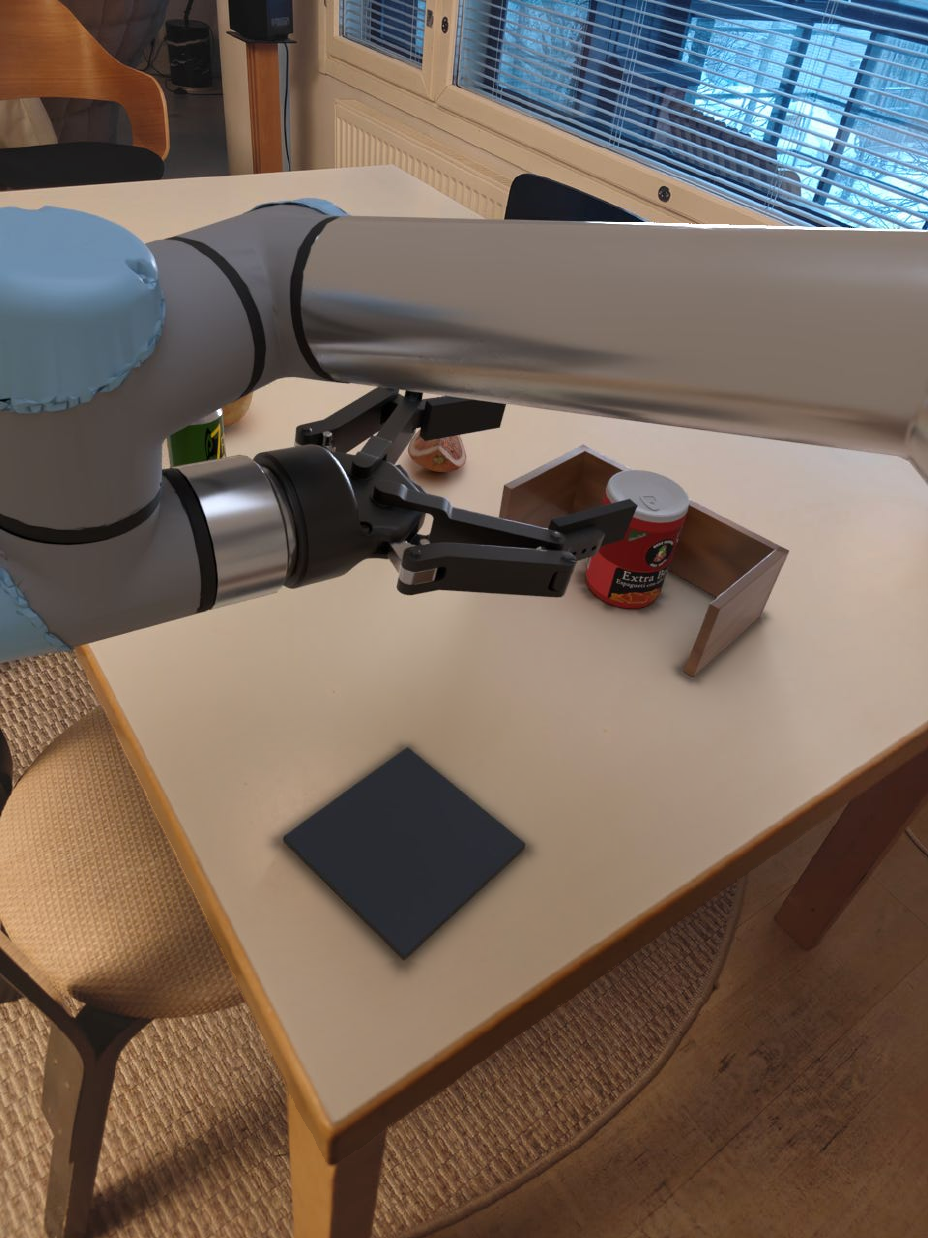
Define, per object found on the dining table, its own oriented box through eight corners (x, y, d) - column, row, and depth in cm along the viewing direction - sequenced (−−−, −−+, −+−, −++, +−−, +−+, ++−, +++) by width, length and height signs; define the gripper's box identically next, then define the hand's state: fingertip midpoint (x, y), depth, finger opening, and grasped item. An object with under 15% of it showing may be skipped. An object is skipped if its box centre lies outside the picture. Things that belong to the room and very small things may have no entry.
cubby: (760, 615, 85) (789, 550, 79) (693, 677, 77) (720, 609, 72) (569, 507, 96) (583, 444, 90) (492, 551, 88) (503, 484, 83)
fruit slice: (461, 491, 96) (466, 451, 93) (401, 482, 96) (404, 443, 92) (467, 453, 102) (472, 415, 99) (411, 445, 102) (414, 407, 99)
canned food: (610, 617, 82) (637, 522, 75) (569, 568, 87) (591, 474, 80) (675, 602, 85) (708, 509, 78) (632, 555, 90) (658, 464, 83)
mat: (524, 848, 61) (526, 843, 61) (404, 960, 54) (404, 955, 54) (406, 751, 67) (407, 746, 66) (283, 841, 59) (282, 836, 59)
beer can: (174, 524, 85) (160, 415, 78) (176, 494, 89) (162, 387, 82) (230, 522, 87) (221, 414, 79) (230, 493, 91) (221, 387, 83)
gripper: (178, 457, 55) (447, 413, 67) (372, 733, 42) (666, 620, 53) (177, 348, 50) (467, 321, 62) (396, 623, 37) (714, 524, 49)
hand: (560, 460), depth 58 cm, fingers open, 13 cm apart
